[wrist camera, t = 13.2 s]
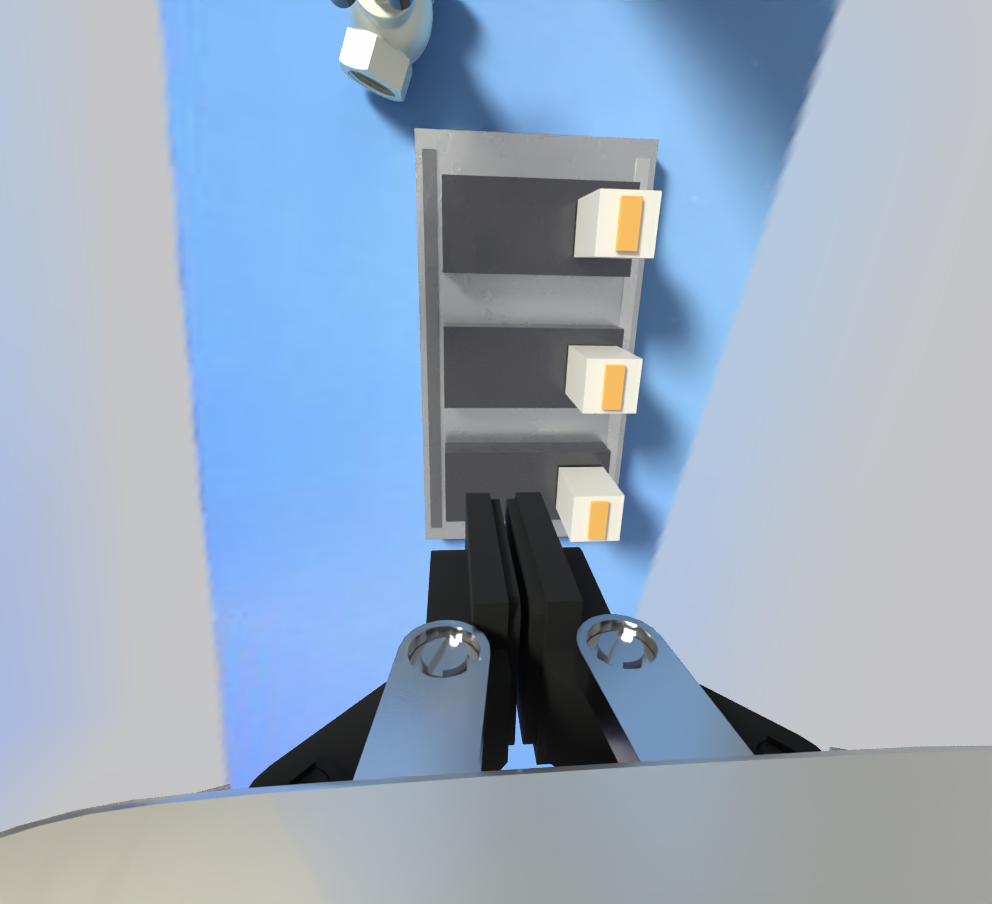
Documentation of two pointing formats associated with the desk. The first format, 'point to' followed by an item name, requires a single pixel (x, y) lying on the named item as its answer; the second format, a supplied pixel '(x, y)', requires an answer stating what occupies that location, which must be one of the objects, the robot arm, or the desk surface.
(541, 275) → the panel
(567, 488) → the handle
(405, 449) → the desk surface
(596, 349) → the handle mid
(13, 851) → the robot arm
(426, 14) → the valve
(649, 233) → the handle
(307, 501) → the desk surface
